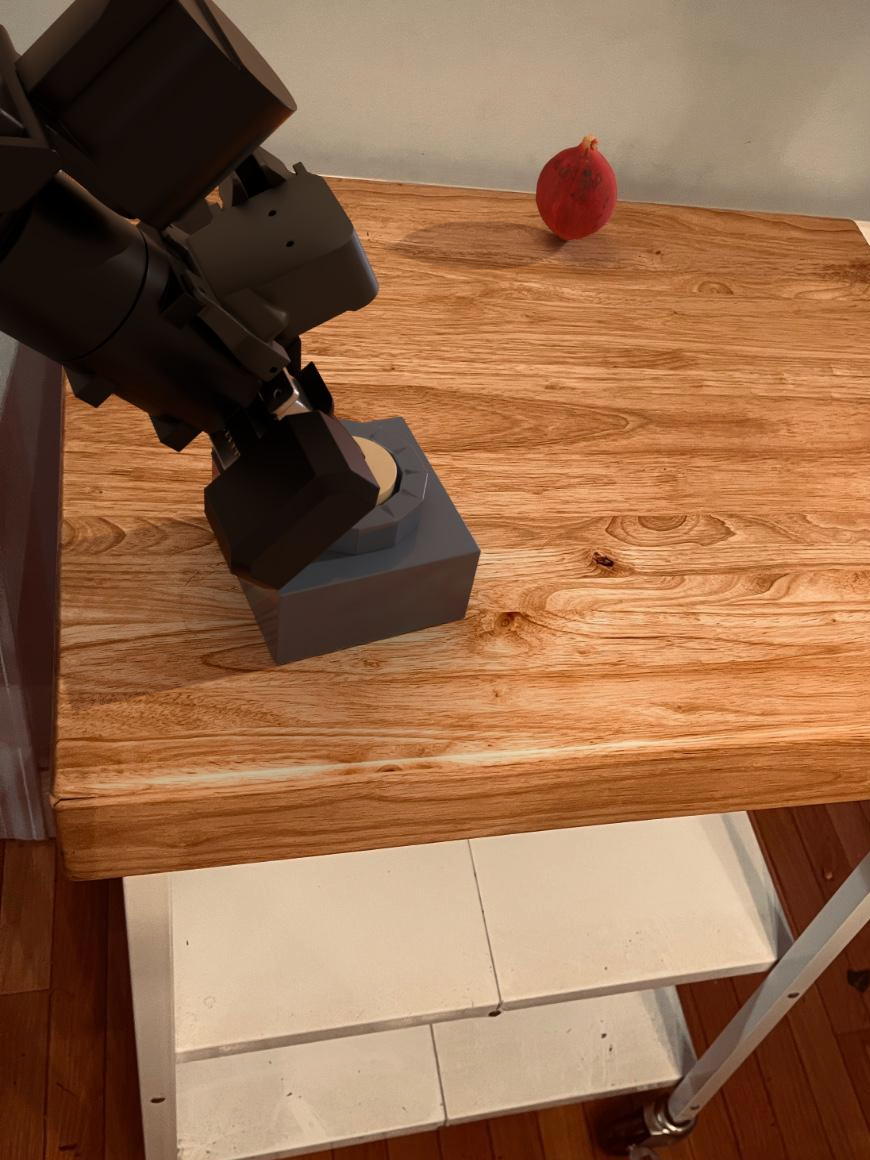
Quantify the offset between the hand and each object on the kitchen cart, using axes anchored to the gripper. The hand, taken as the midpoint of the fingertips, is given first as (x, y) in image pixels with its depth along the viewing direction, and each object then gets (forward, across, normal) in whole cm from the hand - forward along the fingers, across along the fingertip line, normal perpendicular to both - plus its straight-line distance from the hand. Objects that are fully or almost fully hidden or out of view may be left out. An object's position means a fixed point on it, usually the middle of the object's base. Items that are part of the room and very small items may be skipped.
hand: (356, 460), depth 56 cm
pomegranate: (+25, +26, -13) cm, 38 cm away
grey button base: (+5, 0, +6) cm, 8 cm away
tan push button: (+1, 0, +2) cm, 2 cm away
